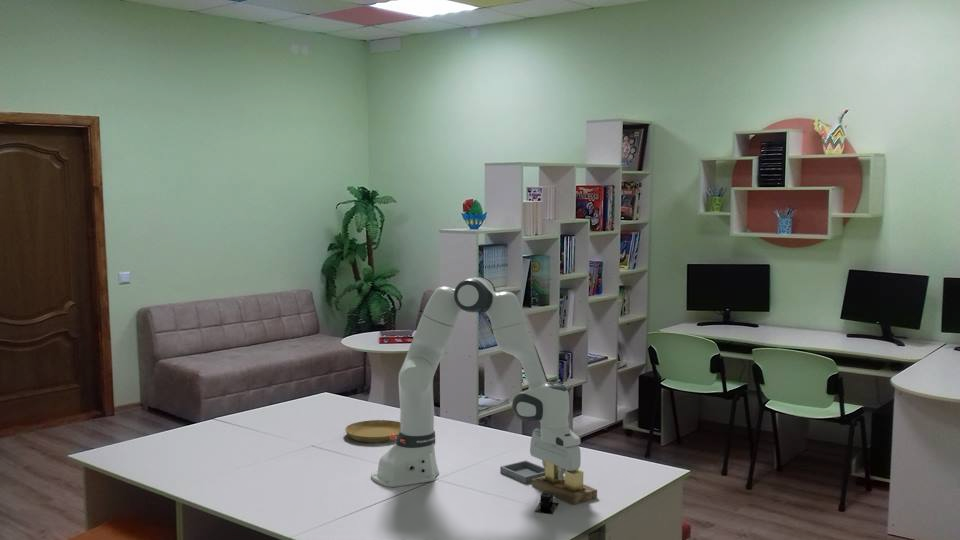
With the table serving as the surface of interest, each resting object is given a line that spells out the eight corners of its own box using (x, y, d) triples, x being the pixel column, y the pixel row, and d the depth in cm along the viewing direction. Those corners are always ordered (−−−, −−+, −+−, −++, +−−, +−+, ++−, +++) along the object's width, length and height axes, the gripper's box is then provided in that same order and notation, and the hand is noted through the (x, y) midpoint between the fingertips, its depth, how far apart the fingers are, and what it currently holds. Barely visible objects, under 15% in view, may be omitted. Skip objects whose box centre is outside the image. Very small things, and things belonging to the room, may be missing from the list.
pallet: (573, 504, 248) (573, 496, 248) (531, 486, 264) (531, 479, 263) (597, 497, 254) (597, 489, 254) (555, 480, 270) (555, 472, 269)
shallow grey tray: (525, 485, 265) (525, 477, 265) (500, 473, 276) (500, 466, 275) (551, 478, 272) (551, 470, 272) (525, 467, 282) (525, 460, 282)
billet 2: (573, 499, 253) (573, 474, 252) (564, 496, 256) (564, 470, 255) (583, 497, 255) (583, 471, 254) (574, 493, 258) (574, 468, 258)
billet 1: (553, 488, 260) (554, 463, 259) (545, 484, 263) (545, 459, 262) (563, 485, 262) (563, 460, 262) (555, 481, 266) (555, 457, 265)
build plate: (539, 501, 253) (539, 486, 253) (563, 503, 251) (563, 488, 251) (530, 515, 242) (530, 500, 241) (555, 518, 239) (555, 502, 239)
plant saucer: (375, 424, 336) (375, 415, 335) (421, 434, 322) (421, 425, 321) (331, 438, 316) (331, 429, 316) (378, 449, 302) (378, 440, 302)
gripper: (525, 428, 267) (525, 470, 269) (569, 443, 251) (568, 488, 252) (540, 425, 271) (539, 466, 272) (584, 440, 255) (583, 484, 256)
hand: (554, 477), depth 262 cm, fingers closed on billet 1, 4 cm apart
